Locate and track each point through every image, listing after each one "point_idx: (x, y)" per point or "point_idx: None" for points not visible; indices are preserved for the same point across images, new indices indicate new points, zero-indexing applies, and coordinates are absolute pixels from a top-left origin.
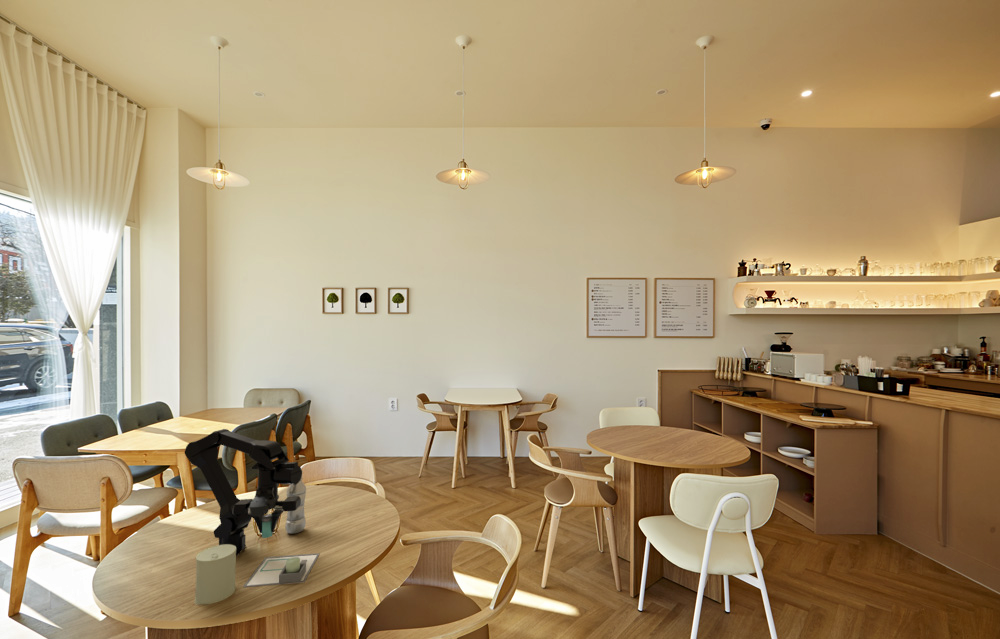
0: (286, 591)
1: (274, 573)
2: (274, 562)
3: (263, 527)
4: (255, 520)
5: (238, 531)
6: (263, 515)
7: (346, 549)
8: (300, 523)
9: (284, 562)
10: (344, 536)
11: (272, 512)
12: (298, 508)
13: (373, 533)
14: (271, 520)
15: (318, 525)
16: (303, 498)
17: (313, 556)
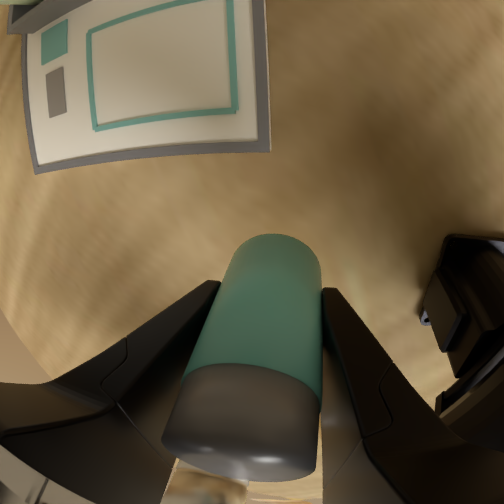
0: None
1: None
2: (187, 86)
3: (288, 311)
4: (419, 406)
5: (486, 354)
6: (323, 473)
7: (4, 211)
8: None
9: (131, 86)
10: (53, 302)
11: (28, 465)
12: (186, 464)
13: (9, 294)
14: (182, 386)
15: None
16: (162, 498)
17: (44, 150)
